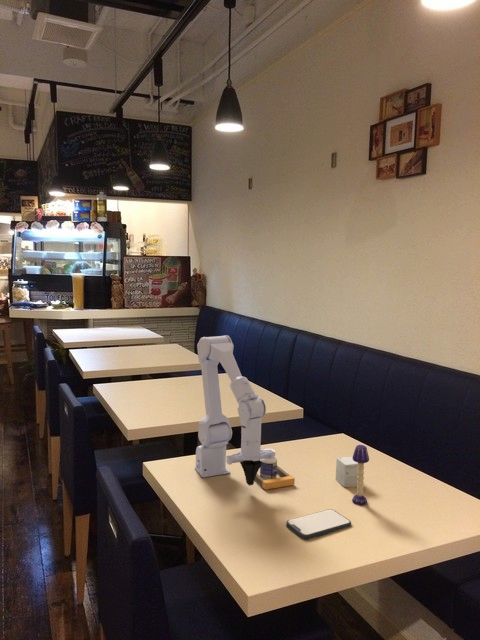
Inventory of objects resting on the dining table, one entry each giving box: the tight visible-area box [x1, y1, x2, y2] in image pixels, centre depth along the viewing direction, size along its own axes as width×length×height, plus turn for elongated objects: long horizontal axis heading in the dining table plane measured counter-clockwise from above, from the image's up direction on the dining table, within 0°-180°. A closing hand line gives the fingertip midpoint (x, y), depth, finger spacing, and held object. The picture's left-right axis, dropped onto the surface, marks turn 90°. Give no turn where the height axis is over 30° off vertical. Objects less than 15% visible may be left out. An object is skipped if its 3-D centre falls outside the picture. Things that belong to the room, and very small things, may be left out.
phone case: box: [285, 508, 352, 541], centre depth 134 cm, size 9×2×16 cm
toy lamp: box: [351, 444, 370, 506], centre depth 147 cm, size 5×5×17 cm
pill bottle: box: [259, 448, 278, 480], centre depth 162 cm, size 5×5×9 cm
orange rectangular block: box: [261, 475, 295, 490], centre depth 156 cm, size 10×2×2 cm, turn 114°
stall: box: [254, 465, 291, 488], centre depth 162 cm, size 10×9×2 cm
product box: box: [335, 456, 358, 488], centre depth 160 cm, size 6×6×7 cm
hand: (249, 483), depth 151 cm, fingers closed
